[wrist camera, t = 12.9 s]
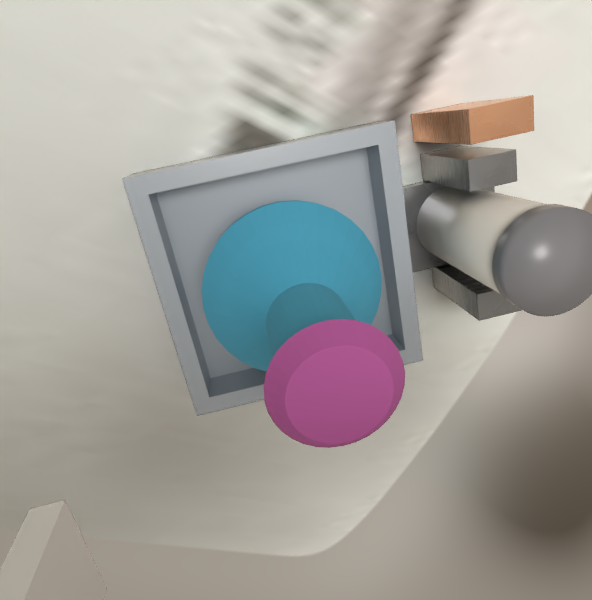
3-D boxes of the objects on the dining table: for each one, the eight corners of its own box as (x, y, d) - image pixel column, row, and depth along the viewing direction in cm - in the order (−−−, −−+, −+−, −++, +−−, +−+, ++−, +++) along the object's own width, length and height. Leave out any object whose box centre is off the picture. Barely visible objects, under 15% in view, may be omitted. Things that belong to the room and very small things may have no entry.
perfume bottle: (350, 178, 28) (481, 226, 14) (364, 324, 31) (481, 484, 17) (189, 203, 27) (155, 280, 13) (220, 351, 30) (219, 541, 16)
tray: (199, 390, 32) (197, 415, 29) (133, 173, 27) (122, 178, 24) (405, 340, 32) (422, 360, 30) (377, 121, 28) (394, 120, 25)
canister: (419, 266, 30) (507, 327, 21) (410, 192, 28) (502, 221, 19) (489, 249, 30) (607, 302, 21) (485, 175, 29) (611, 196, 19)
